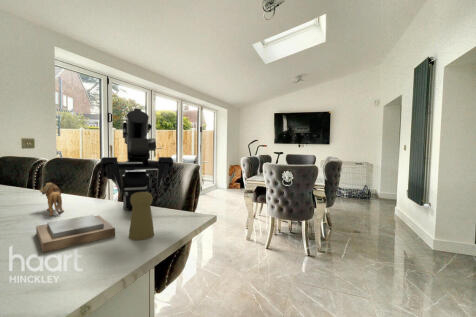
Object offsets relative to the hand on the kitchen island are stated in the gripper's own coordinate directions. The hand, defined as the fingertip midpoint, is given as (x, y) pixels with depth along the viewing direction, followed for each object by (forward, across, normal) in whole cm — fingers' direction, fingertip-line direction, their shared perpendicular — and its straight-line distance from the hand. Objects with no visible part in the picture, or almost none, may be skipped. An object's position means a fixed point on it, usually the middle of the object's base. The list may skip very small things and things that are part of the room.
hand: (140, 190), depth 63 cm
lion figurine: (-14, -25, +29) cm, 40 cm away
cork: (+10, 0, +5) cm, 12 cm away
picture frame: (+6, -15, +10) cm, 18 cm away
